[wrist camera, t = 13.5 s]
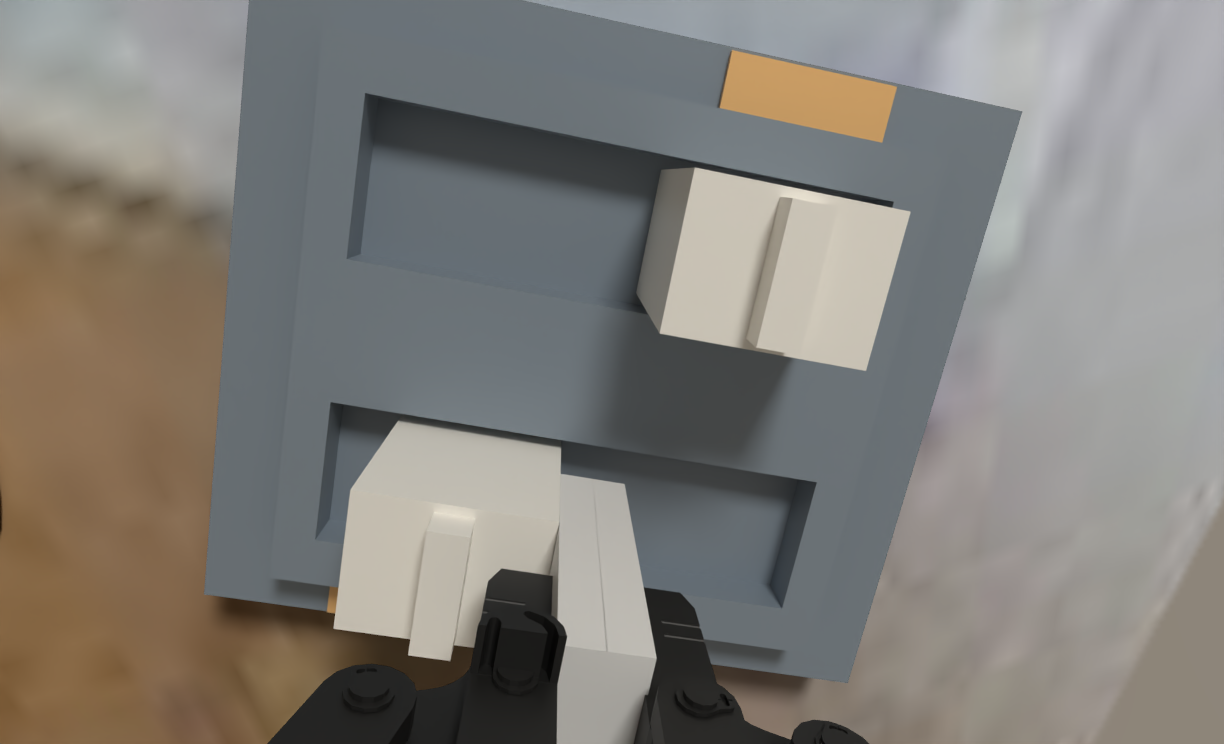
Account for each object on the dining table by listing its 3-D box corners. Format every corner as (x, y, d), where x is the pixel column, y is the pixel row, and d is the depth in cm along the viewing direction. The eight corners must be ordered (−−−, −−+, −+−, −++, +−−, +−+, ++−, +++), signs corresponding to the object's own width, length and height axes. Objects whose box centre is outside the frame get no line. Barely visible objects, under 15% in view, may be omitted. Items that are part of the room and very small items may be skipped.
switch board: (235, 558, 22) (182, 619, 19) (286, -35, 19) (229, -78, 15) (825, 642, 24) (863, 711, 21) (979, 117, 20) (1052, 107, 17)
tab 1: (390, 519, 20) (320, 652, 14) (404, 410, 19) (337, 507, 14) (541, 542, 20) (531, 681, 15) (561, 436, 20) (559, 541, 14)
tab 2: (635, 293, 19) (664, 342, 13) (661, 169, 18) (702, 166, 13) (791, 322, 19) (883, 382, 14) (821, 202, 19) (931, 213, 13)
